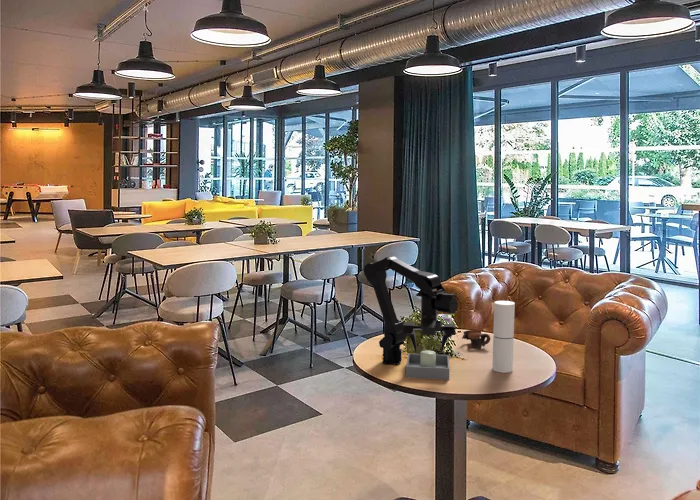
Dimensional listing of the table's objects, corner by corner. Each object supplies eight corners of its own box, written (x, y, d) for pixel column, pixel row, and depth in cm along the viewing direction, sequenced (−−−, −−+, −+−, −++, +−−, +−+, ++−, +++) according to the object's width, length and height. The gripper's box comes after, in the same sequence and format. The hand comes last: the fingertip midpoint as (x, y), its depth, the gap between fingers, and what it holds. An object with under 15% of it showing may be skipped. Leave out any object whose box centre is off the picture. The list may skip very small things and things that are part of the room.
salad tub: (420, 370, 203) (420, 354, 202) (420, 365, 209) (420, 350, 208) (435, 371, 202) (435, 355, 202) (435, 366, 208) (435, 350, 207)
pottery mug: (460, 350, 232) (458, 330, 236) (467, 354, 240) (465, 335, 243) (488, 346, 227) (486, 326, 230) (495, 351, 234) (493, 331, 238)
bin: (406, 377, 200) (406, 366, 199) (408, 363, 214) (408, 353, 214) (449, 379, 197) (449, 368, 197) (448, 365, 212) (448, 355, 211)
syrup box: (451, 352, 227) (451, 317, 225) (436, 352, 228) (436, 317, 226) (451, 348, 232) (452, 314, 231) (436, 347, 234) (437, 313, 232)
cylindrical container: (501, 373, 203) (503, 305, 199) (488, 368, 209) (490, 301, 206) (516, 370, 206) (519, 303, 203) (502, 365, 212) (505, 299, 209)
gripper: (401, 314, 196) (401, 357, 198) (456, 315, 193) (455, 359, 195) (403, 306, 207) (403, 348, 209) (455, 308, 204) (454, 350, 206)
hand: (428, 351), depth 205 cm, fingers open, 9 cm apart
